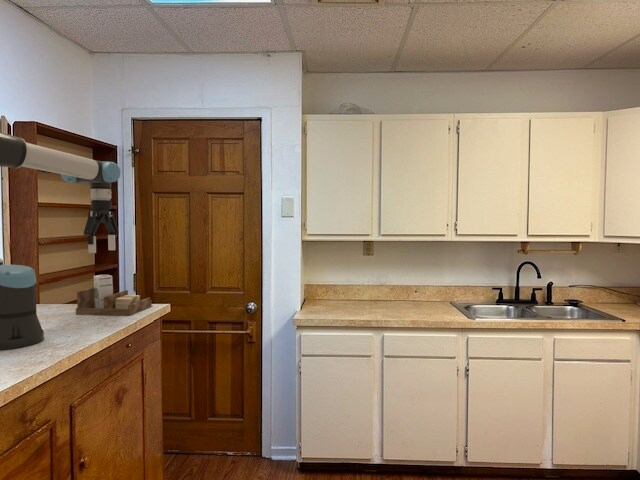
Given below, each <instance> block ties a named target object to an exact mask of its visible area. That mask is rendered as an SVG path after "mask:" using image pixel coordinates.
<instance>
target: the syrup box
mask: <svg viewBox="0 0 640 480" xmlns="http://www.w3.org/2000/svg"><path fill="white" fill-rule="evenodd" d="M113 283H114V282H113V275H110V274H97V275H93V287H94V301H95V308H104V297H106V296H109V295H112V294H114V285H113Z"/></svg>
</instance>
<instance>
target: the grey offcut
mask: <svg viewBox="0 0 640 480" xmlns="http://www.w3.org/2000/svg"><path fill="white" fill-rule="evenodd" d="M116 309H128V306H116Z"/></svg>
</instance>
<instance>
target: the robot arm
mask: <svg viewBox="0 0 640 480" xmlns="http://www.w3.org/2000/svg"><path fill="white" fill-rule="evenodd" d="M1 167H3V168H11V169H20V168H21V167H23V168H26V169H27V168H29V169H32V170H39V171H44V172H50V173H53V174H58V175H60V177H61V179H62V180H63V181H64V182H66V183H71V184H84V185H90V199H92V200H91V201H90V208H91V210H93V211H90V210H89V211H88V213H87V215H88V216H87V220H86V224H85V227H84V230H83V235H84V236H85V237H87V247H88V251H87V252H88V254H96V253H97V236H95V234H96V232H97V231H98V228H99V227H100V224H104V227H105V229H106V230H107V232H108V235H107V245H108V247H107V248H108V251H116V236H118V234H119V229H118V225H117V222H116V219H115V213H114V211H110V210H112V206H113V205H112V203H113V202H112V200H111V199H112V194H113V193H112V183H114V182H117V181H118V180H119V179H120V178H121V168H120V167H119V165H118V164H117V163H116V162H113V161H101V160H97V159H96V160H95V159H91V158H88V157H84V156H80V155H77V154H73V153H68V152H64V151H60V150H57V149H52V148H49V147H45V146H41V145H38V144H33V143H30V142H26V140H25V139H24V138H22V137H19V136H16V135H12V134H9V133H4V132H2V131H0V168H1ZM44 339H45V332H44V329H43V328H42V325H41V322H40V320H39V317H38V315H37V277H36V271H35V269H34V268H32V267H31V266H28V265H27V266H26V265H24V264H23V265H22V264H4V260H3V259H2V258H1V257H0V351H1V350H10V349H19V348H23V347H28V346H32V345H35V344H38V343H40V342H42V341H43V340H44Z"/></svg>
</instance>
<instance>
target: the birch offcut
mask: <svg viewBox="0 0 640 480" xmlns="http://www.w3.org/2000/svg"><path fill="white" fill-rule="evenodd" d="M140 300H141V294H140V295H139V294H137V295H136V294H128V295H125V296H122V297H119V298H116V299H115V303H116V306H128V305H130V304H133V303H135V302H138V301H140Z"/></svg>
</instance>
